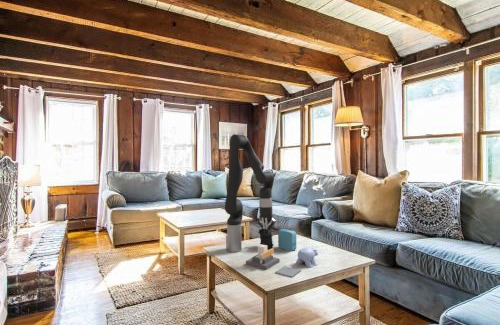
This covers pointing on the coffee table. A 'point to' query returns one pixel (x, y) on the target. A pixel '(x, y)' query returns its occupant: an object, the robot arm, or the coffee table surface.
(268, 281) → the coffee table surface
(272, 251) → the orange rod with knob
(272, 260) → the socket block
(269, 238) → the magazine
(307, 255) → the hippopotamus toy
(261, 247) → the plug
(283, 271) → the mat
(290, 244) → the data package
